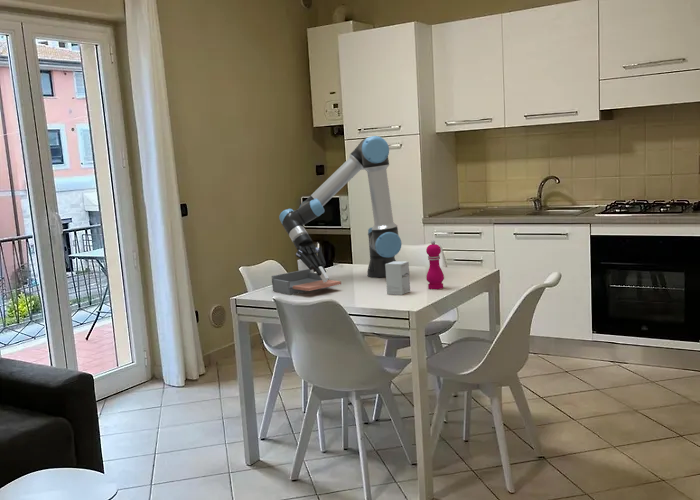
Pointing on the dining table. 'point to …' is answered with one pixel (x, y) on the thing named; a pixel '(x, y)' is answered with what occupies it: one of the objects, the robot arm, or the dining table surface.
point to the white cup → (302, 266)
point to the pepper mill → (434, 267)
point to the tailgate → (316, 285)
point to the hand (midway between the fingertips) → (326, 280)
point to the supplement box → (397, 277)
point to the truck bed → (293, 281)
